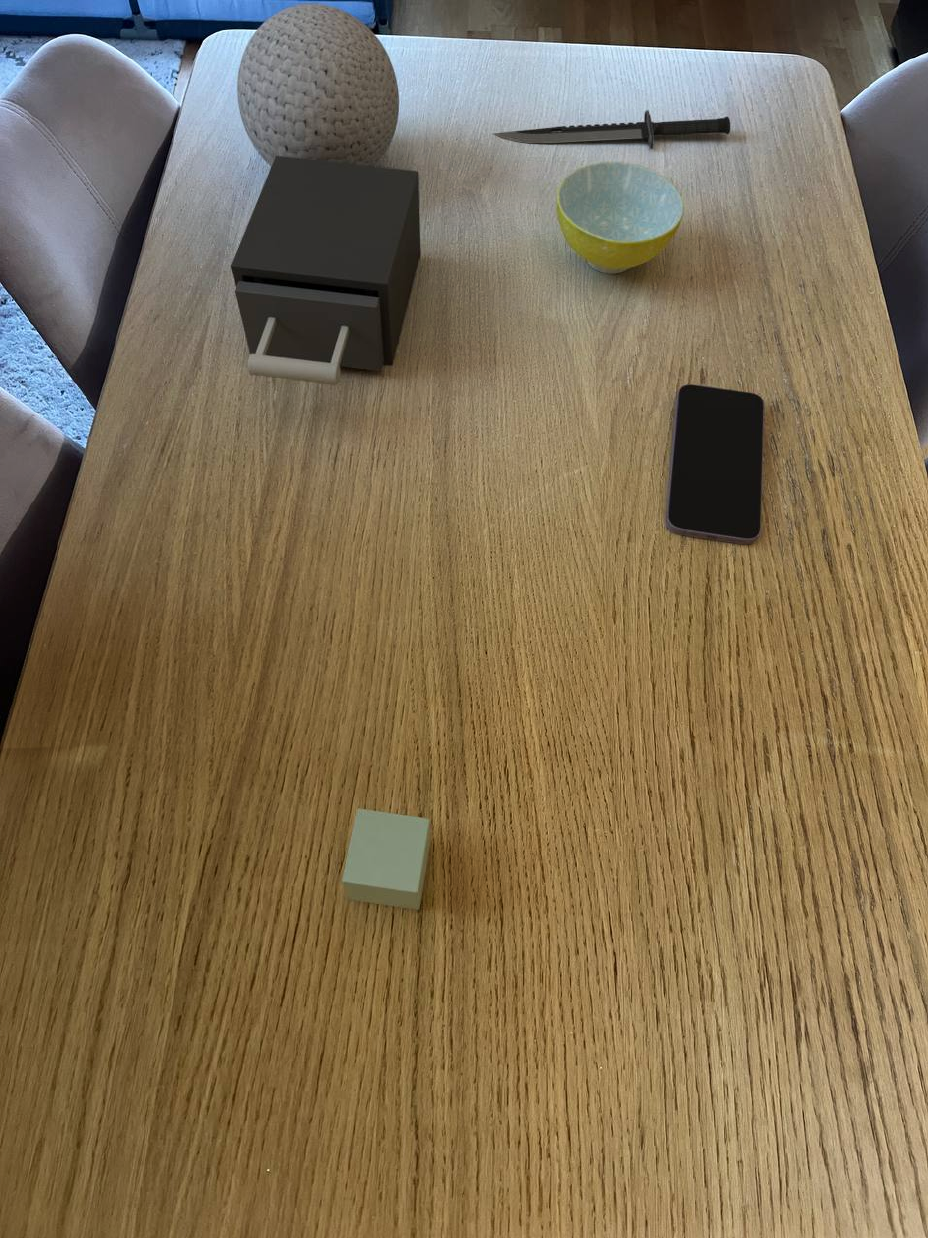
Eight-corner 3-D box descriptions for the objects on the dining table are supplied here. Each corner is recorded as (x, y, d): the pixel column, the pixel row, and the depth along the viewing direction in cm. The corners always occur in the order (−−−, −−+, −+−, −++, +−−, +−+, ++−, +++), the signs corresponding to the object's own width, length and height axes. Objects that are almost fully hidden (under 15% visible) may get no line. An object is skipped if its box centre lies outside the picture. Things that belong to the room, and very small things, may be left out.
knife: (494, 145, 94) (491, 113, 96) (494, 161, 95) (491, 129, 97) (734, 133, 93) (726, 101, 96) (730, 149, 95) (722, 117, 97)
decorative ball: (222, 189, 90) (185, 28, 77) (307, 114, 97) (287, -46, 84) (350, 240, 87) (334, 80, 74) (429, 158, 93) (427, -2, 80)
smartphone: (665, 527, 70) (678, 381, 77) (662, 535, 70) (675, 390, 78) (761, 541, 69) (765, 394, 76) (757, 549, 70) (761, 403, 77)
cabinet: (392, 365, 78) (387, 283, 71) (250, 348, 79) (230, 265, 72) (420, 255, 86) (418, 170, 78) (289, 240, 86) (275, 155, 79)
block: (348, 900, 56) (341, 881, 52) (362, 830, 58) (357, 807, 54) (419, 910, 55) (417, 893, 52) (430, 840, 58) (430, 818, 54)
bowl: (672, 227, 89) (687, 168, 83) (665, 307, 83) (680, 249, 78) (557, 212, 89) (565, 152, 84) (542, 290, 84) (549, 231, 78)
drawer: (367, 423, 74) (361, 360, 68) (231, 406, 74) (213, 342, 69) (408, 266, 84) (406, 199, 78) (287, 252, 84) (276, 185, 78)
